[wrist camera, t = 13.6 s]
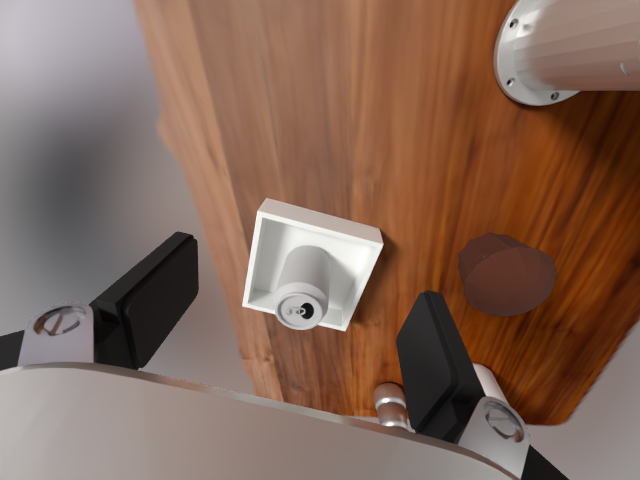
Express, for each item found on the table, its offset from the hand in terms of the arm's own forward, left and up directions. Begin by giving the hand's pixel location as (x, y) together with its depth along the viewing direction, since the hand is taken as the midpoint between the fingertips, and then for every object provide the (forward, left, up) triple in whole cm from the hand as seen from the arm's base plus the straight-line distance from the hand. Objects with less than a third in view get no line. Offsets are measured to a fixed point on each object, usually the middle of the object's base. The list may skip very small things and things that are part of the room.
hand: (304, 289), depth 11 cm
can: (-1, +18, -29) cm, 34 cm away
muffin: (-29, +9, -30) cm, 42 cm away
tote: (-2, +18, -30) cm, 35 cm away
